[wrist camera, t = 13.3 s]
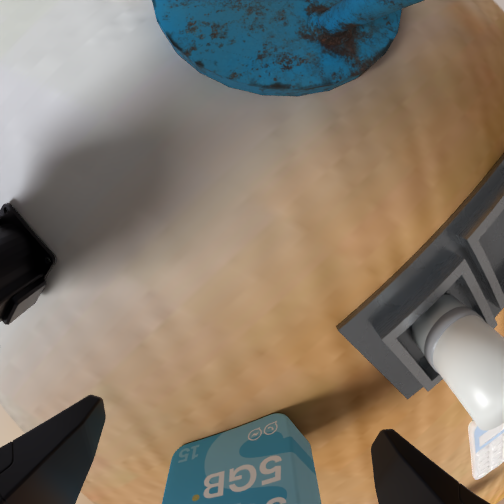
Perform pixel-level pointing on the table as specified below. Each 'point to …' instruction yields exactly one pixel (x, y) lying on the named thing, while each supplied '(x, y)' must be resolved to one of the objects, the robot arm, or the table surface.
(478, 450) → the calculator
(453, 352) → the plug
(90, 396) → the robot arm
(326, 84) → the desk lamp
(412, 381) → the panel
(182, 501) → the data package
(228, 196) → the table surface
